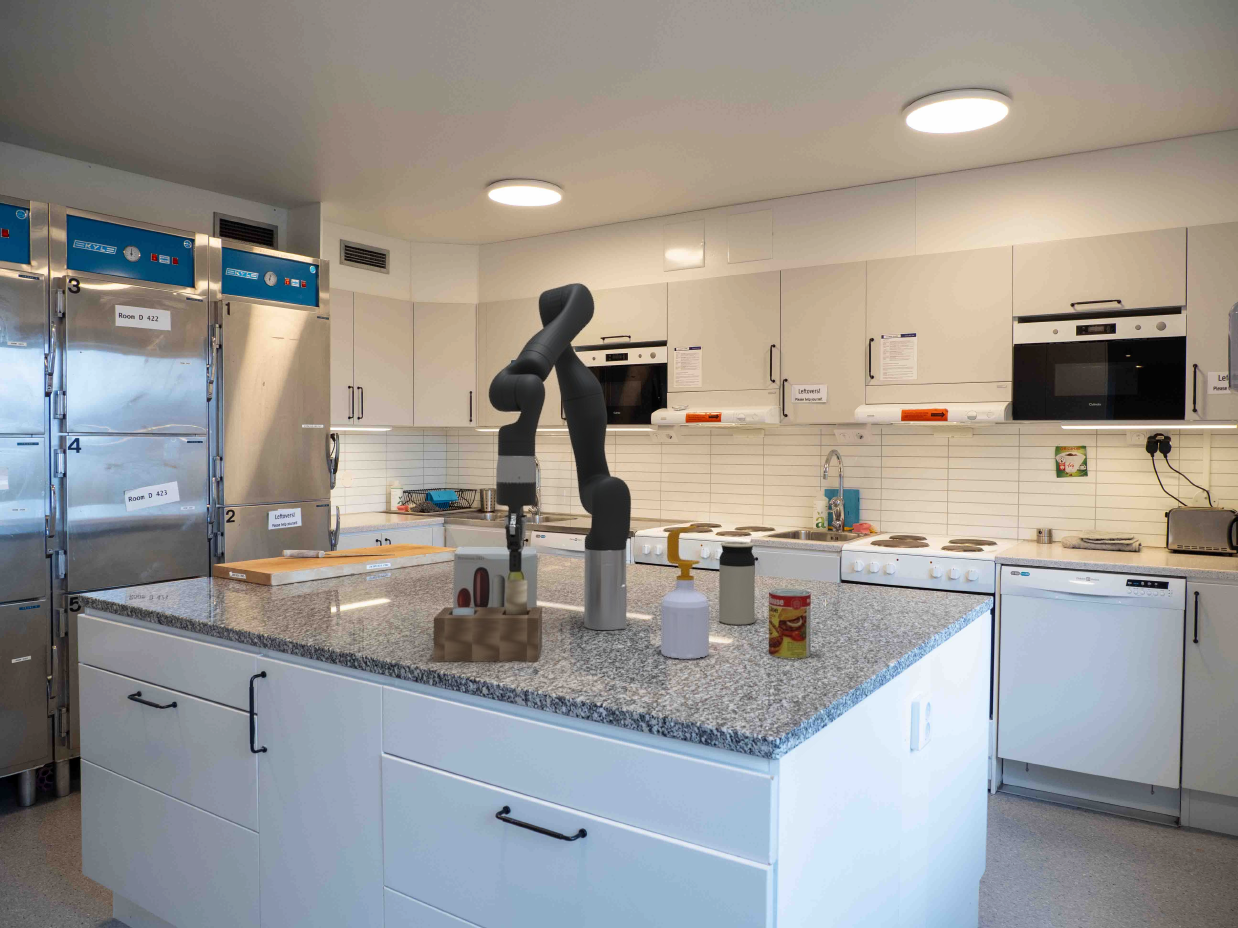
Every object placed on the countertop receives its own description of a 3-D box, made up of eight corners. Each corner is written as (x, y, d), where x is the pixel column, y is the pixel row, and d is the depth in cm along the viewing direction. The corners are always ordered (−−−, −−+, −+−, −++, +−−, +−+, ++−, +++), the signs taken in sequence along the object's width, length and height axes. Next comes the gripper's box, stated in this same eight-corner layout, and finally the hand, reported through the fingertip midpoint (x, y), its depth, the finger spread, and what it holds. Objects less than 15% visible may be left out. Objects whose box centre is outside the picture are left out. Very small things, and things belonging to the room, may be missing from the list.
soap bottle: (695, 662, 153) (696, 528, 153) (652, 655, 158) (652, 525, 158) (716, 652, 161) (717, 524, 161) (674, 646, 166) (675, 522, 166)
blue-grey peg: (475, 646, 161) (475, 607, 161) (472, 651, 157) (472, 611, 157) (454, 646, 161) (454, 607, 160) (450, 651, 157) (450, 611, 156)
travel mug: (738, 627, 185) (739, 545, 185) (711, 621, 191) (712, 542, 191) (761, 622, 190) (762, 543, 190) (734, 617, 196) (735, 540, 196)
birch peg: (527, 618, 161) (528, 579, 161) (526, 622, 157) (526, 582, 157) (506, 618, 161) (507, 579, 161) (504, 622, 157) (504, 582, 157)
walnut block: (542, 647, 164) (542, 607, 164) (537, 661, 153) (538, 617, 153) (444, 647, 164) (444, 607, 164) (433, 661, 153) (433, 617, 153)
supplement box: (451, 642, 169) (452, 552, 169) (456, 628, 183) (456, 545, 182) (537, 640, 171) (538, 552, 171) (536, 627, 185) (536, 545, 184)
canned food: (765, 649, 164) (766, 588, 164) (806, 649, 164) (806, 588, 164) (771, 659, 156) (772, 594, 156) (814, 659, 156) (814, 595, 156)
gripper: (533, 481, 152) (532, 576, 152) (538, 479, 165) (538, 567, 165) (491, 480, 152) (490, 576, 152) (500, 479, 165) (499, 566, 165)
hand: (515, 571), depth 159 cm, fingers closed
